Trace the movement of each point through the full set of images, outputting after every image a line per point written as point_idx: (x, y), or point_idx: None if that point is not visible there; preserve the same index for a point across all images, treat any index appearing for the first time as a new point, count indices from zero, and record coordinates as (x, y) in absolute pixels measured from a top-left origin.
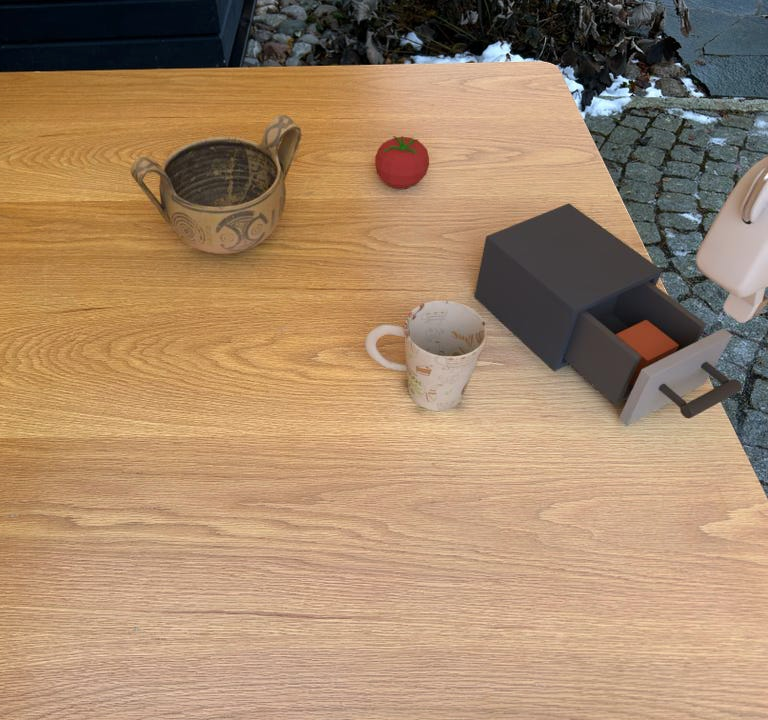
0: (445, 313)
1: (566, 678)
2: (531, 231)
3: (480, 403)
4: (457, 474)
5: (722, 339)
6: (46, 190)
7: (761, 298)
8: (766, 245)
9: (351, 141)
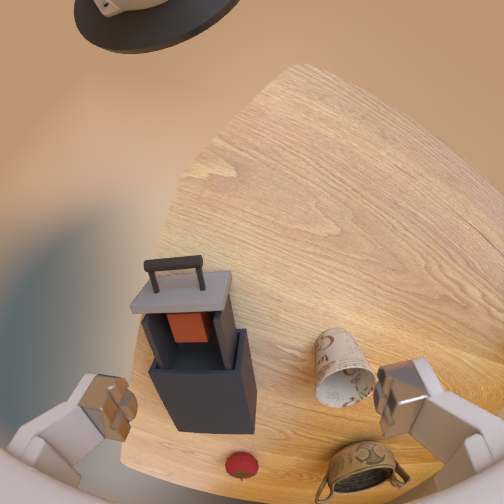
0: (326, 396)
1: (396, 129)
2: (220, 427)
3: (313, 325)
4: (366, 282)
5: (139, 305)
6: None
7: (448, 407)
8: None
9: None
